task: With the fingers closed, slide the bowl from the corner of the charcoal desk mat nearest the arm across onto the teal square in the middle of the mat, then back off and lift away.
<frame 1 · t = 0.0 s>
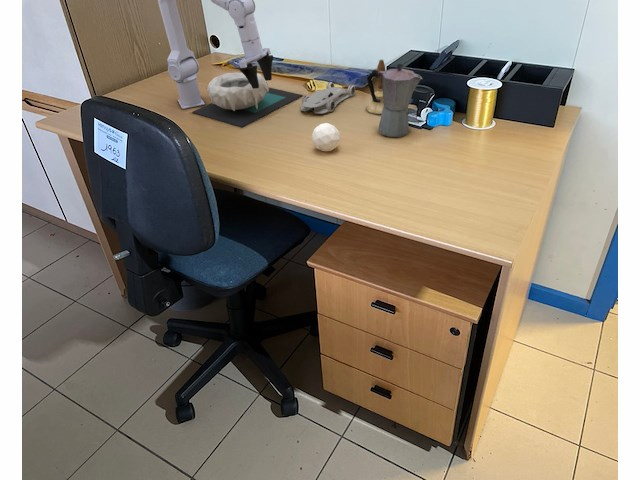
hand: (262, 84, 153), 11 cm above the table, tool pointing down, fingers open, 7 cm apart
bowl: (240, 107, 166), resting on mat
mat: (247, 104, 168), on the table
hand bell: (379, 110, 158), on the table
ball: (326, 150, 137), on the table
moka pot: (392, 132, 144), on the table
car model: (326, 103, 165), on the table
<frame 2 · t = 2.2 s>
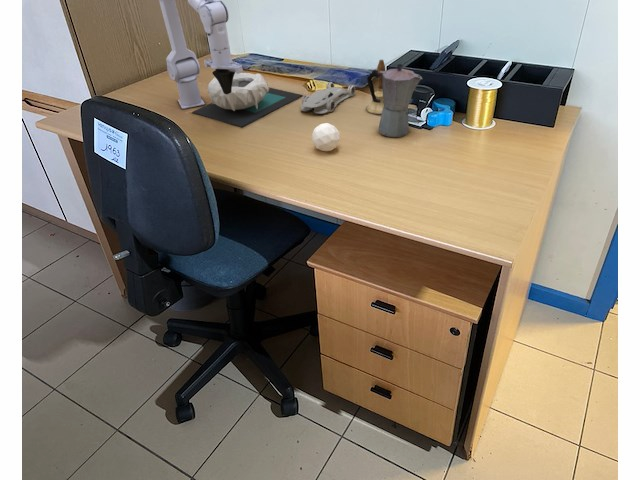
hand: (227, 93, 149), 10 cm above the table, tool pointing down, fingers closed
nothing on the table moved.
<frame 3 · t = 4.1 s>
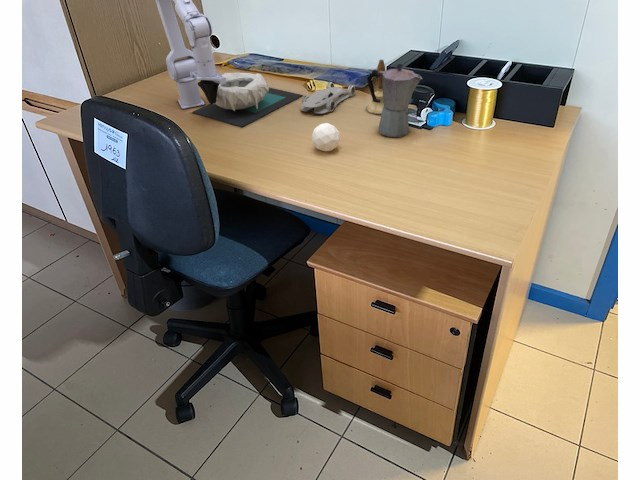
hand: (212, 102, 155), 6 cm above the table, tool pointing down, fingers closed
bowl: (240, 107, 166), resting on mat, touching gripper
everything else where it was.
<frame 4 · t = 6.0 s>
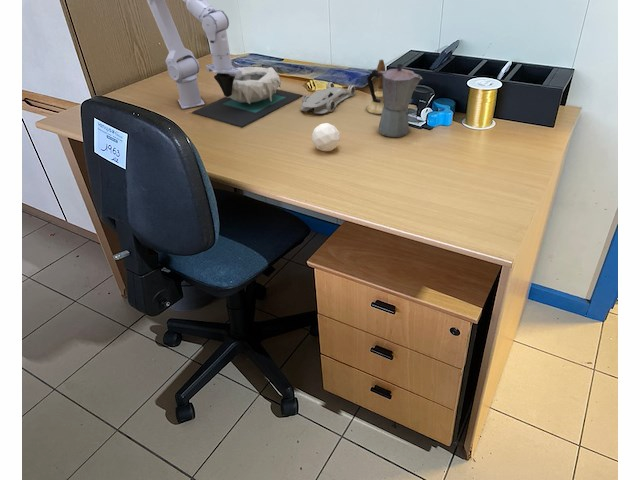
hand: (228, 95, 159), 6 cm above the table, tool pointing down, fingers closed
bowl: (253, 101, 170), resting on mat, touching gripper
everything else where it was.
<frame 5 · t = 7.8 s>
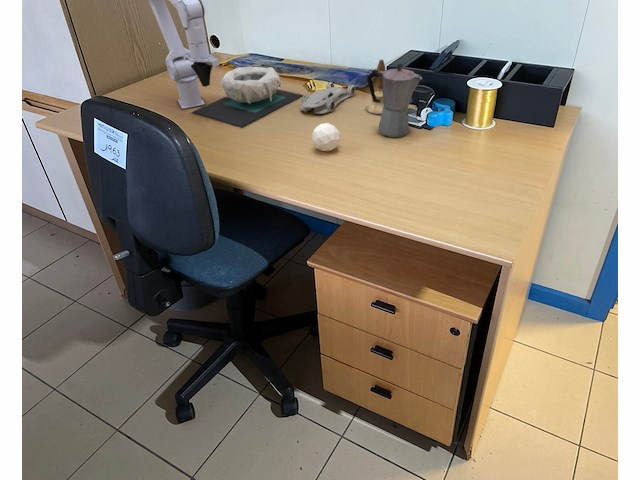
hand: (206, 85, 155), 10 cm above the table, tool pointing down, fingers closed
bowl: (253, 100, 170), resting on mat
everything else where it was.
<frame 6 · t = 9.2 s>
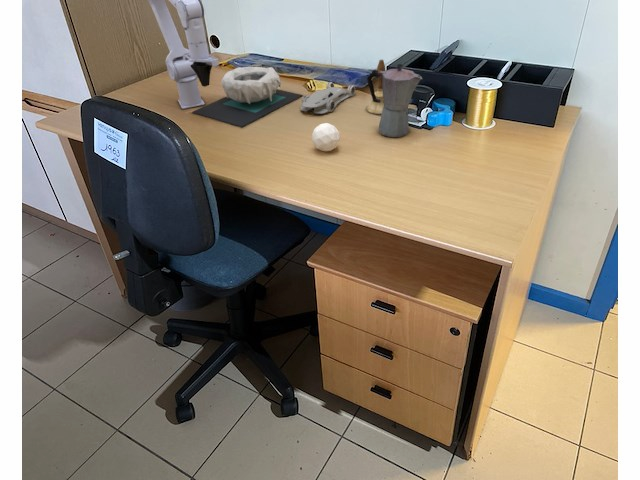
hand: (205, 85, 155), 10 cm above the table, tool pointing down, fingers closed
nothing on the table moved.
at the end: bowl 0.6 cm from the target spot, resting on mat; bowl moved 6.9 cm from its start; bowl tilted 0° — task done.
